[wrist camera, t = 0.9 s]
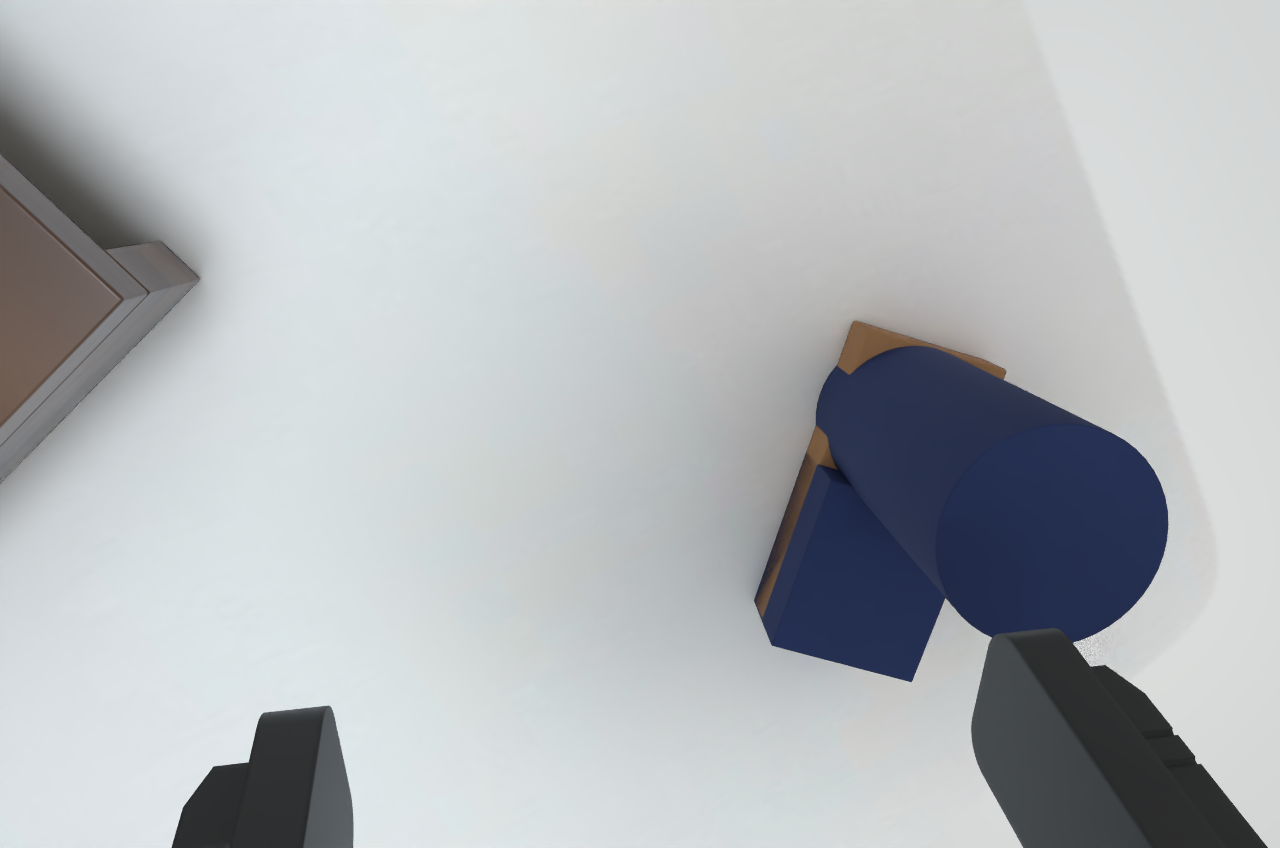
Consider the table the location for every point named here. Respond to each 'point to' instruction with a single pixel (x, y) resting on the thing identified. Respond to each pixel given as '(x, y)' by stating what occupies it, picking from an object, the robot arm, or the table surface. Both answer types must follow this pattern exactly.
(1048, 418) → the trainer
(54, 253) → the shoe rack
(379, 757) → the table surface
